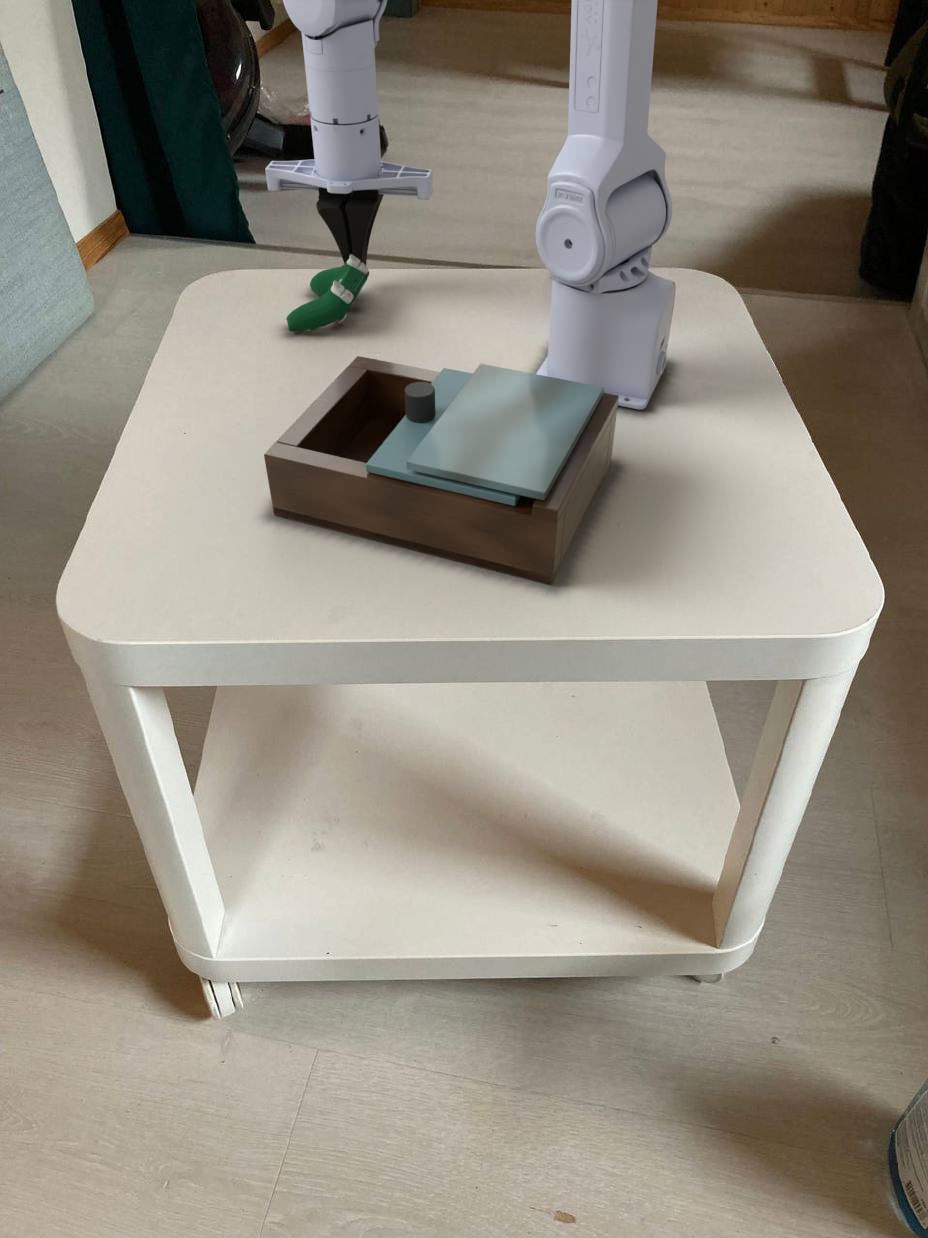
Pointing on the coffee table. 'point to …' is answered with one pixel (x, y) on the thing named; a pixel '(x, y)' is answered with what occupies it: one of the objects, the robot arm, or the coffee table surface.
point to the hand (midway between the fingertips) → (356, 271)
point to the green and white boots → (330, 296)
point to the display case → (452, 465)
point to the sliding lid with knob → (420, 417)
